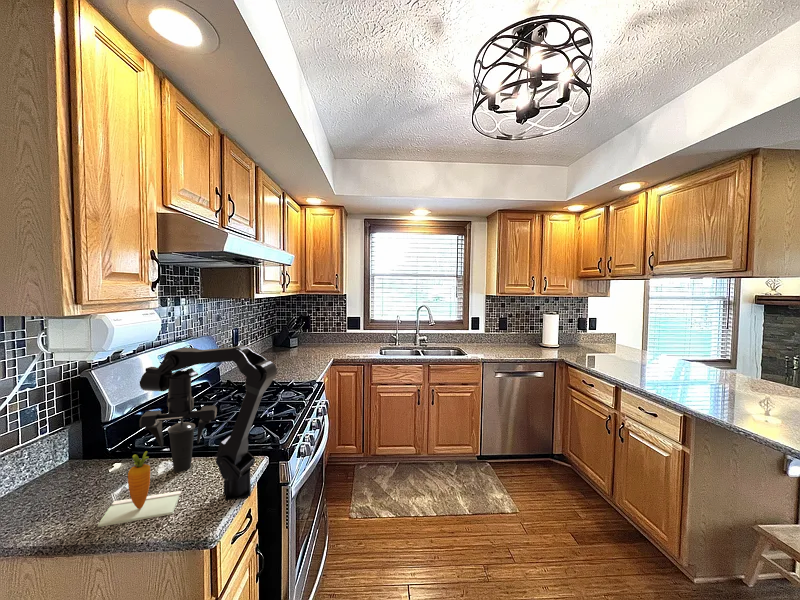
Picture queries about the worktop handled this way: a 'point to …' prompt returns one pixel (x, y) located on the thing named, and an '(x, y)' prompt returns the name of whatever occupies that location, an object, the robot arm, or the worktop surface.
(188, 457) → the drinking cup
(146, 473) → the carrot
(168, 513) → the mat
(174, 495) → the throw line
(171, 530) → the worktop surface
